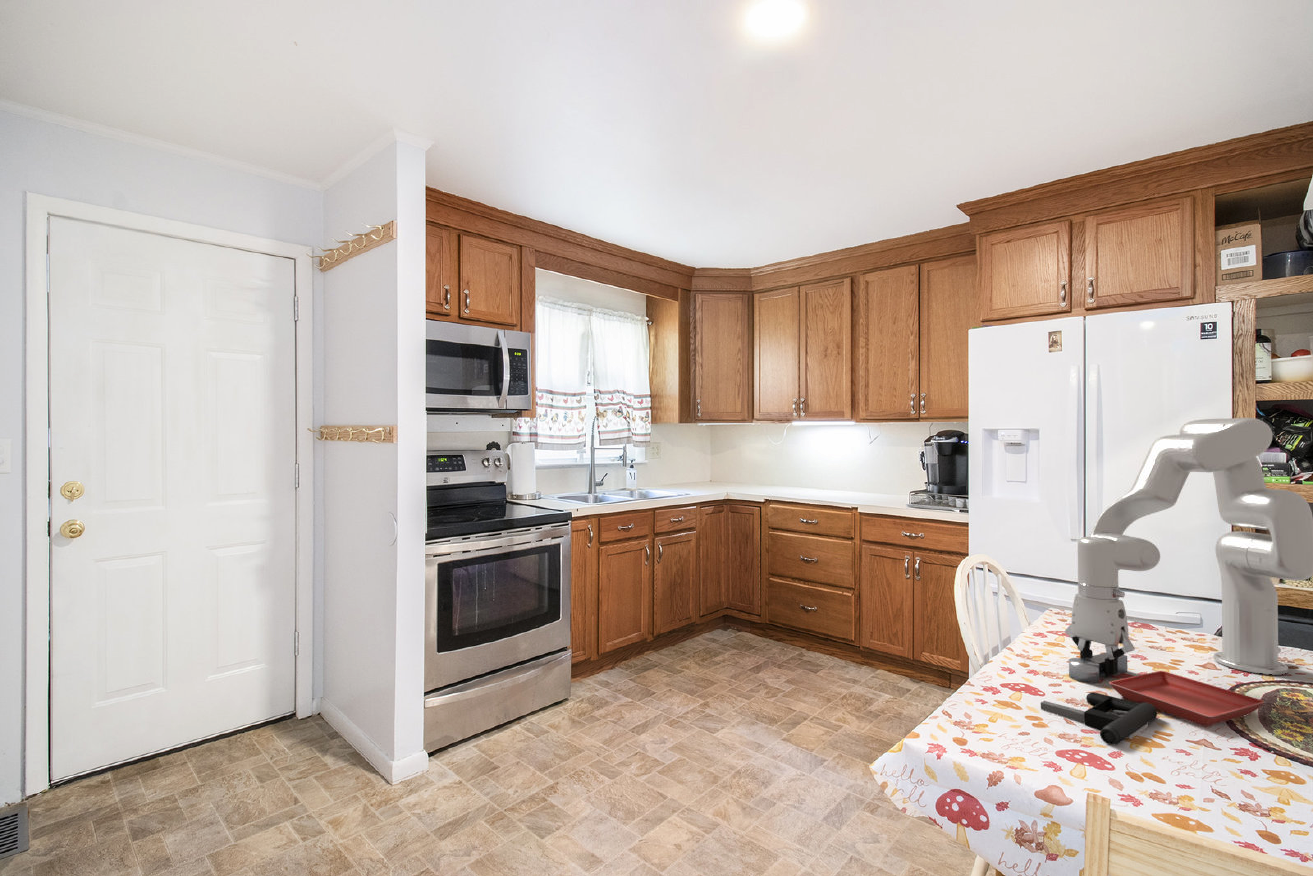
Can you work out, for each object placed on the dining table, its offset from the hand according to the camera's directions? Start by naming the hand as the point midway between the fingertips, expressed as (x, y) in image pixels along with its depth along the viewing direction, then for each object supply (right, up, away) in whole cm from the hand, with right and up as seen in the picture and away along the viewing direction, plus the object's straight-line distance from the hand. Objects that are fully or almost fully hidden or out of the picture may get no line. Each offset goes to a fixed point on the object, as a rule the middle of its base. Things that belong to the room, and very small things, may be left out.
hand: (1098, 670), depth 139 cm
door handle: (-17, -1, -22) cm, 28 cm away
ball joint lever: (0, -1, 0) cm, 1 cm away
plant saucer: (+5, -1, -16) cm, 17 cm away
